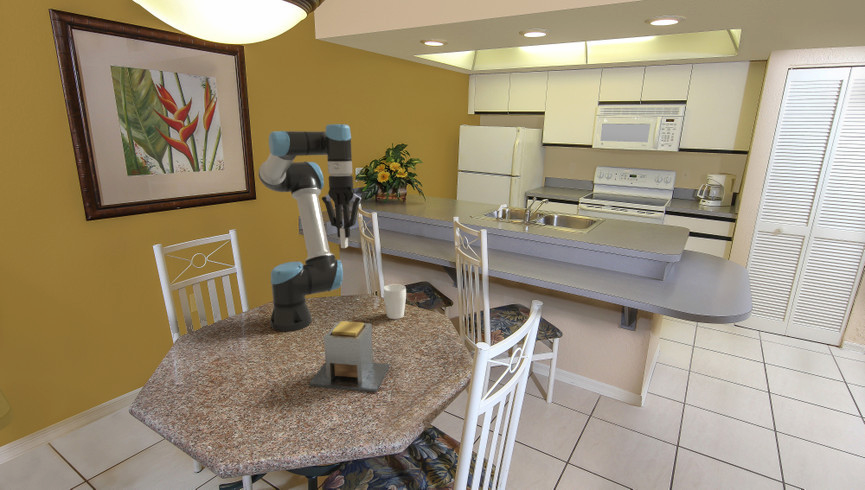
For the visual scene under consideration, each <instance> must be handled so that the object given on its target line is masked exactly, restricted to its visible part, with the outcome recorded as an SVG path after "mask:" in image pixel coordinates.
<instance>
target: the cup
mask: <svg viewBox="0 0 865 490" xmlns="http://www.w3.org/2000/svg"><path fill="white" fill-rule="evenodd" d="M382 295H383V300H384V305H385V312H386V317H387V318H388V319H392V320H398V319H401V318H403V317H405V309H406V299H407V288H406V286H405V285H403V284H398V283H391V284H387V285H385V286H384V287H383V294H382Z"/></svg>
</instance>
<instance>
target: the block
mask: <svg viewBox="0 0 865 490" xmlns="http://www.w3.org/2000/svg"><path fill="white" fill-rule="evenodd" d="M339 322H340V323H339V324H338V325H337V326H336V327H335V329H334V330H333V331H332V335H333V336H347V337H358V336H359V334H360V333H361V332H362V330H363V329H364V323H365V322H359V321H357V322H356V321H344V320H342V321H339ZM334 368H335V376H346V377H357V378H358V373H357V365H348V364H336V363H334Z"/></svg>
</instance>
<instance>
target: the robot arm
mask: <svg viewBox="0 0 865 490" xmlns="http://www.w3.org/2000/svg"><path fill="white" fill-rule="evenodd" d="M268 148H269V152H270V153H269V155H268V157H267V159H266V160H265V161H264V162H263V163H261V164H260V166H259V168H258V179H259V180H260V182H261V184H263V185H264V186H265V187H266V188H268V189H269V190H271V191H274V192H278V193H291V194H290V195H291V197H292V199H294V200H296V203H297V207H298V214H299V217H300V222H301V223H300V224H301V227H302V232H303V238H304V243H305V248H306V252H307V257H306V259H305V260H304V263H305V264H303V263H302V262H301V261H289V262H284V263H281V264H278V265H277V266H275V267H273V269H271V272H270V284H271V291H272V303H273V308H272V312H271V315H270V323H269V324H270V328H271V327H272V328H273V330H275V331H277V330H278V331H279V332H292V331H297V330H301V329H305V328H306V327H308V326H309V325H310V324H311V323H312V321H313V319H312V314H311V311H310V308H309V307H308V305H307V303H306V296H309V295H315V294H318V293H319V294H320V293H323V292H324V293H325V292H331V291H334V290H338V289H340V288H341V286H342V284H343V280H344V269H343V263H342V261H341V260H340V259H336V255H335V254H334V253H332V252H331V250H330V246H329V242H328V237H327V232H326V228H325V227H326V226H325V223H324V219H323V214H322V209H321V204H320V199H319V196H320V195H321V193H322V190H323V188H324V186H325V181H324V174H323V172H322V170H321V167H320V165H319V164H318V163H316V162H313V161H296V162H294V160H295V159H296V158H297V156H299V157H300V156H301V157H303V156H326V157H327V172H328V175H329V176H328V187H329V190H328V191H327V194H326V195H325V196H322V197H321V201H322V202H323V203H324V205H325V208H326V212H327V214H328V215H327V216H328V218H329V221H330V225H331V227H335V228H336V230H337V231H336V232H337V238H339V239H340V248H341V249H346V248H348V247H349V238H350V237H351V227H354V226H355V225H356V222H357V218H358V211H359V205H360V203H361V201H362V199H363V197H362V196H359V195H357V194H356V193H355V190H354V179H353V178H354V177H353V175H352V174H353V162H352V161H353V160H352V158H353V156H352V134H351V127H350V126H349V125H348V124H345V123H344V124H341V123H340V124H339V123H337V124H335V123H334V124H331V123H329V124H327V125H325V130H324V131H302V130H301V131H300V130H299V131H297V130H296V131H295V130H293V131H291V130H290V131H289V130H288V131H287V130H279V131H278V130H277V131H271V132H270V133H269V135H268ZM351 201H353V203H352V208H351V213H350V206H351V205H350V203H351ZM332 202H333V203H334V206H333V203H332ZM334 208H335V210H334Z"/></svg>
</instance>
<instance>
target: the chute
mask: <svg viewBox="0 0 865 490" xmlns="http://www.w3.org/2000/svg"><path fill="white" fill-rule="evenodd" d="M340 322H341V321H336V323H335V324H334V325H333V326H332V327H331V328H330V329H329V330H328V332H327V333H326V334H325V335H324V336H323V344H324V345H323V347H324V359H325V363H323V366H322V367H320V369H319V370H318V372H317V373H316V374H315V375H314V376H313V378H312V379H311V380H310V381H309V384H308V387H312V388H322V389H324V388H325V389H333V390H335V389H336V390H344V391H345V390H346V391H355V392H356V391H357V392H367V393H375V394H376V393H377V392H378V391H379V388H380V386H381V385H382V382H383V380H384V379H385V377H386V375H387V372H388V371H389V369H390V364H389V363H380V362H379V363H378V362H374V354H373V353H374V352H373V350H374V349H373V329H372V323H369V322H368V323H366V322H363V323H364V329H363V330H362V332H361V333H360V334H359V336H358V337H347V336H333V335H332V331H333V330H334V329H335V327H336V326H337V325H338V324H339V323H340ZM334 363H336V364H348V365H357V373H358V378H357V377H346V376H335V368H334Z"/></svg>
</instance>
